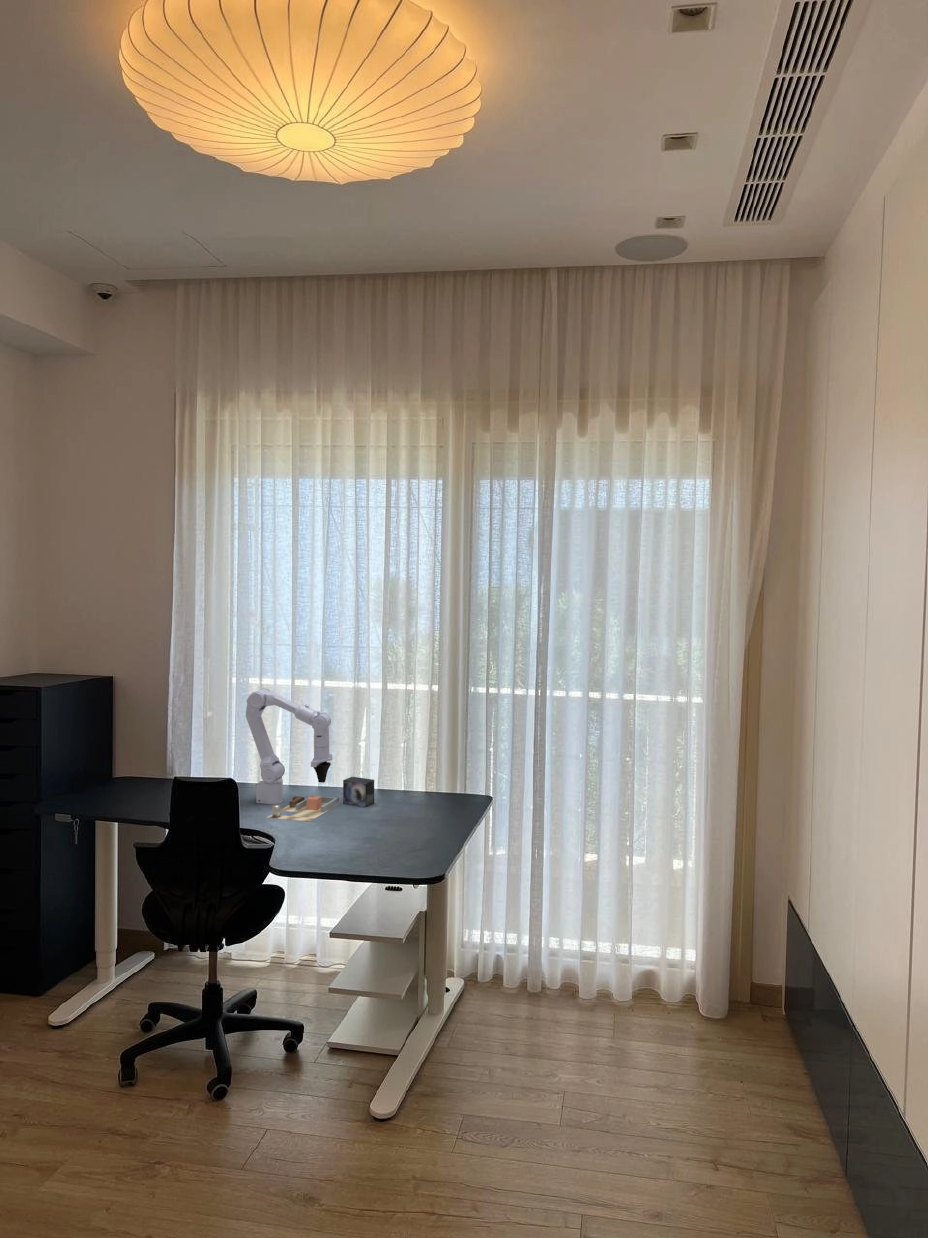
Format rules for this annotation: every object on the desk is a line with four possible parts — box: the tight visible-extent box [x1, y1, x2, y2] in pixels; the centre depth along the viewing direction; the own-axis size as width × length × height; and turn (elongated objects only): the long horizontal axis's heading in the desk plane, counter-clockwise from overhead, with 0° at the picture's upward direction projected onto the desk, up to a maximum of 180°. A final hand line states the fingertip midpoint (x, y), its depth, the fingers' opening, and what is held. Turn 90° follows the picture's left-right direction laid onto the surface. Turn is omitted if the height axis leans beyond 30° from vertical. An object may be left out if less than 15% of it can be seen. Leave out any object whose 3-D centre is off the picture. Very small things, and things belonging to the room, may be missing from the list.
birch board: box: [266, 802, 341, 822], centre depth 330 cm, size 17×26×1 cm, turn 164°
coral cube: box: [306, 795, 323, 810], centre depth 332 cm, size 4×4×4 cm
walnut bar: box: [289, 795, 305, 807], centre depth 338 cm, size 4×8×2 cm, turn 164°
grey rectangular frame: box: [296, 795, 340, 813], centre depth 335 cm, size 11×14×2 cm
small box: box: [342, 776, 375, 808], centre depth 339 cm, size 11×6×10 cm, turn 62°
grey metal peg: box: [271, 804, 282, 819], centre depth 321 cm, size 3×3×4 cm
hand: (321, 782), depth 338 cm, fingers closed
